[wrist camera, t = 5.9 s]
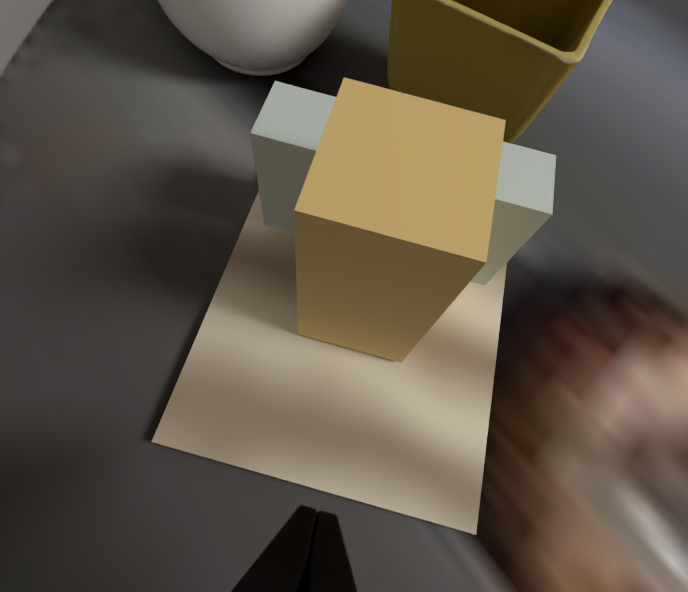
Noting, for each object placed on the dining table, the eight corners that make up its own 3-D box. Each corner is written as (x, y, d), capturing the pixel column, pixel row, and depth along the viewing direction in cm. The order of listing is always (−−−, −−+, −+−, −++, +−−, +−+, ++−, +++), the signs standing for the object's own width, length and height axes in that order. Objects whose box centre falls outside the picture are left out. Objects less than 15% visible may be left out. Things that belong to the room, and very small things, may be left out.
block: (401, 362, 20) (486, 262, 11) (298, 333, 20) (294, 209, 11) (428, 231, 23) (513, 64, 14) (339, 206, 23) (363, 25, 14)
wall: (485, 285, 22) (552, 214, 16) (264, 225, 22) (250, 133, 16) (491, 238, 23) (555, 155, 17) (281, 181, 24) (274, 80, 18)
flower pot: (425, 55, 30) (472, -107, 21) (539, 111, 28) (635, -38, 20) (362, 133, 26) (389, -24, 18) (488, 200, 25) (578, 65, 17)
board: (470, 532, 18) (476, 534, 17) (156, 442, 18) (151, 441, 18) (508, 212, 25) (513, 206, 24) (279, 150, 25) (278, 143, 25)
